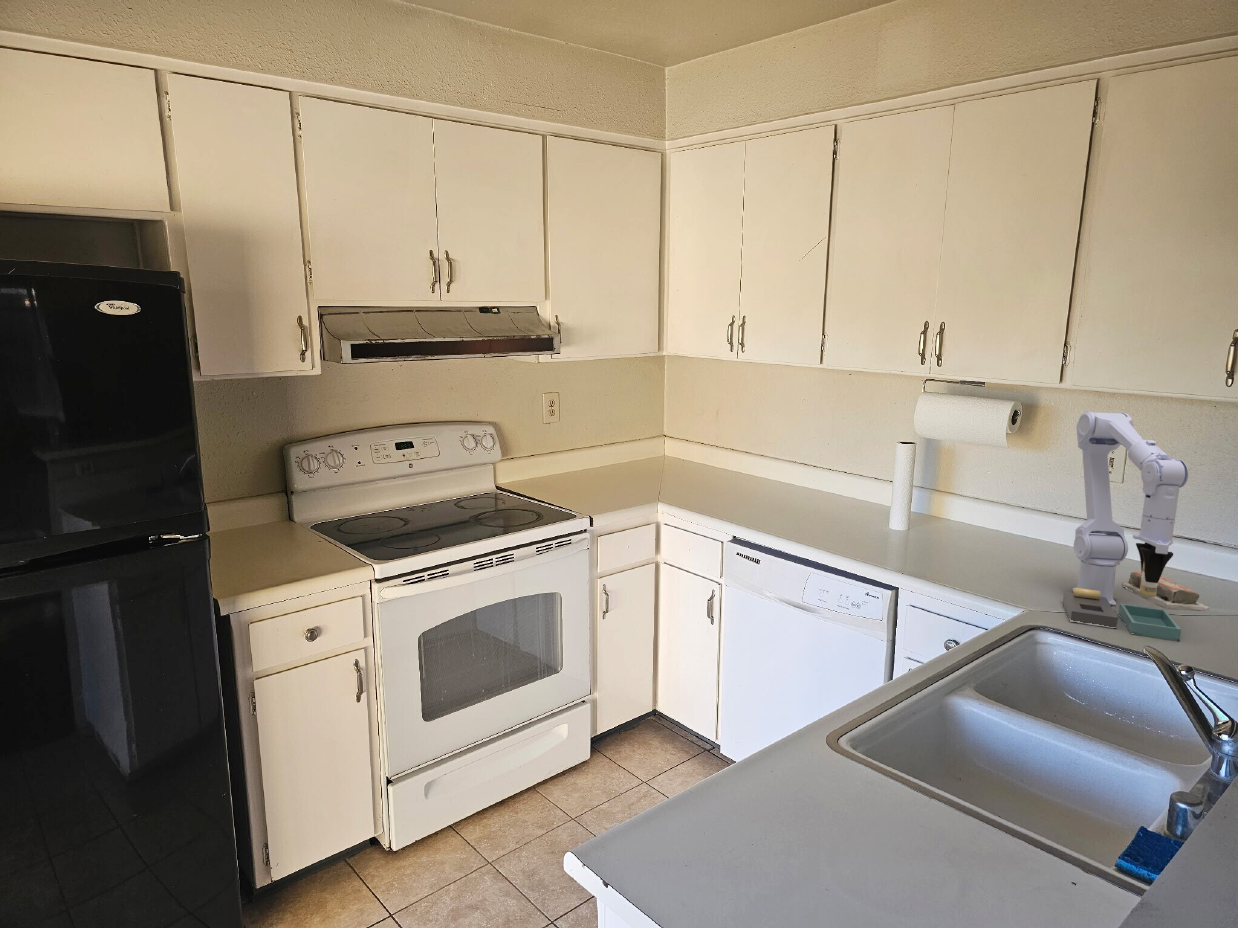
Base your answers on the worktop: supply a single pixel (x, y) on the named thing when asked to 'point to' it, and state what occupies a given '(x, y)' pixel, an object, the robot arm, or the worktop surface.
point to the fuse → (1147, 586)
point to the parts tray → (1149, 622)
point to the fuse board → (1089, 607)
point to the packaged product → (1167, 594)
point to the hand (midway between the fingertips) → (1149, 580)
